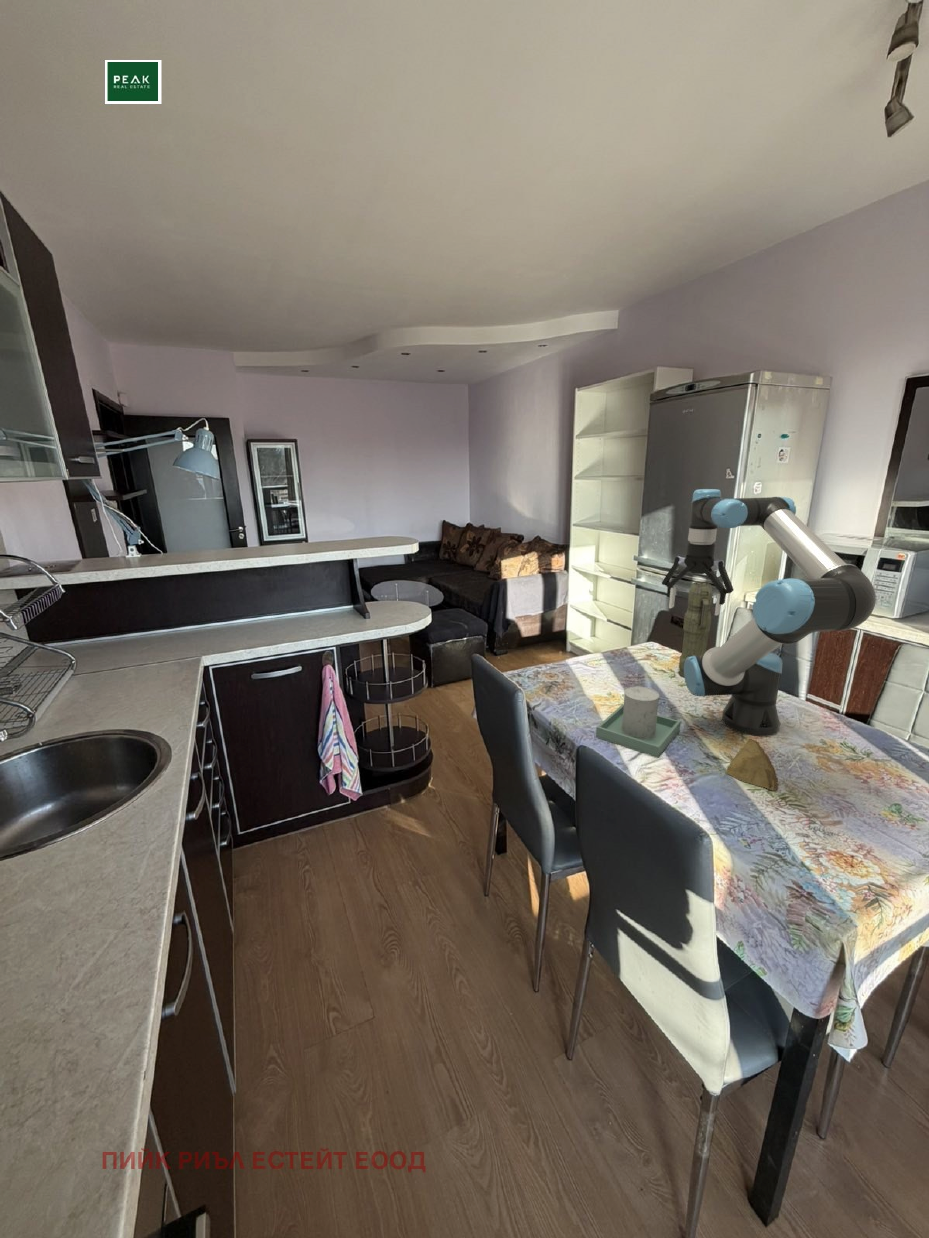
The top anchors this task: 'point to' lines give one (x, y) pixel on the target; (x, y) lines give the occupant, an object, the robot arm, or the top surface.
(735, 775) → the rock
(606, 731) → the tray
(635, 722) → the speckled white canister
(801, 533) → the robot arm
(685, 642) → the thermos
